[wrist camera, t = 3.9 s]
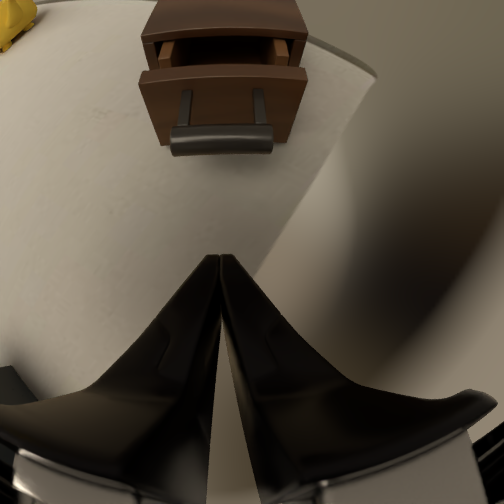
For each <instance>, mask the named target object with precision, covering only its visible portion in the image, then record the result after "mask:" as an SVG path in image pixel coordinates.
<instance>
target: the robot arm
mask: <svg viewBox="0 0 504 504" xmlns="http://www.w3.org/2000/svg"><path fill="white" fill-rule="evenodd" d="M222 322H223V329H224V335H225V340H226V346H227V351H228V356H229V362H230V367H231V373H232V378H233V383H234V388H235V393H236V398H237V402H238V407H239V411H240V417H241V421H242V425H243V430H244V435H245V439H246V443H247V448H248V453H249V457H250V460H251V465H252V469H253V473H254V477H255V481H256V485H257V489H258V493H259V497H260V500H261V504H281V503H282V504H504V422H502V423H501V424H499V425H498V426H497V427H495V428H494V429H493V430H491V431H490V432H489V433H487V434H486V435H485V436H483V437H482V438H480V439H479V440H477V441H476V442H475V443H473V444H472V442H471V439H470V437H469V434H468V432H467V429H469V428H470V427H471V426H473V425H474V424H475V423H476V422H478V421H479V420H480V419H482V418H483V417H484V416H486V415H487V414H488V413H489V412H491V411H492V410H493V409H494V408H495V407H496V406H497V404H498V403H497V401H496V400H495V399H494V398H493V397H492V396H490V395H488V394H486V393H484V392H480V391H476V390H472V389H467V390H464V391H462V392H460V393H457V394H455V395H453V396H451V397H448V398H444V399H422V398H416V397H411V396H406V395H401V394H396V393H391V392H387V391H382V390H377V389H373V388H369V387H365V386H361V385H359V384H356V383H354V382H353V381H351V380H349V379H348V378H346V377H345V376H344V375H342V374H341V373H340V372H339V371H338V370H337V369H336V368H334V367H333V366H332V365H331V364H330V363H329V362H328V361H327V360H326V359H325V358H323V357H322V356H321V355H320V354H319V353H318V352H317V351H316V350H315V349H314V348H312V347H311V346H310V345H309V344H308V343H307V342H306V341H305V340H304V339H303V338H302V337H301V336H300V335H299V334H298V333H297V332H296V331H295V330H294V329H293V327H292V326H291V325H290V324H289V323H288V322H287V320H286V319H285V318H284V317H283V316H282V315H281V313H280V312H279V311H278V309H277V308H276V307H275V306H274V305H273V303H272V302H271V301H270V300H269V298H268V297H267V296H266V295H265V293H264V292H263V291H262V290H261V288H260V287H259V286H258V285H257V284H256V283H255V281H254V280H253V279H252V277H251V276H250V275H249V274H248V272H247V271H246V270H245V269H244V267H243V266H242V265H241V264H240V262H239V261H238V260H237V259H236V257H235V256H234V255H233V254H221V255H220V256H219V255H218V254H210V255H206V256H205V257H204V258H203V260H202V261H201V262H200V263H199V264H198V266H197V267H196V268H195V269H194V270H193V272H192V273H191V274H190V275H189V276H188V278H187V279H186V280H185V281H184V283H183V284H182V285H181V286H180V287H179V289H178V290H177V291H176V292H175V294H174V295H173V296H172V297H171V299H170V300H169V301H168V302H167V303H166V305H165V306H164V307H163V308H162V310H161V311H160V312H159V313H158V315H157V316H156V318H154V320H153V321H152V322H151V323H150V325H149V326H148V327H147V328H146V329H145V331H144V332H143V333H142V334H141V335H140V337H139V338H138V339H137V340H136V341H135V342H134V343H133V344H132V345H131V346H130V347H129V348H128V350H127V351H126V352H125V353H124V354H123V355H122V356H121V357H120V358H119V359H118V360H117V361H116V362H115V363H114V364H113V365H112V366H111V367H110V368H109V369H108V370H107V371H106V372H105V373H104V374H103V375H102V376H101V377H100V378H99V379H98V380H97V381H96V382H94V383H93V384H92V385H90V386H89V387H87V388H85V389H83V390H81V391H78V392H74V393H70V394H66V395H62V396H58V397H54V398H50V399H46V400H41V401H37V402H32V403H27V404H22V405H3V404H0V443H1V444H2V445H4V446H5V447H7V448H9V449H10V450H12V451H13V452H15V456H14V461H13V466H12V465H10V464H8V463H6V462H5V461H3V460H1V459H0V504H206V495H207V479H208V465H209V452H210V439H211V427H212V415H213V403H214V393H215V383H216V372H217V362H218V353H219V343H220V333H221V323H222Z"/></svg>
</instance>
